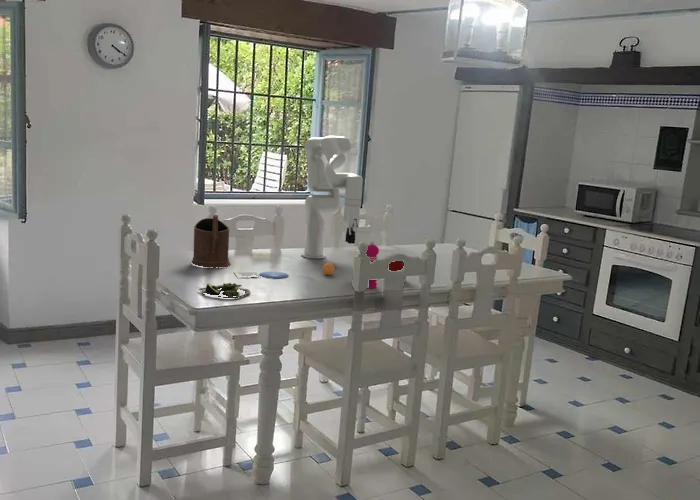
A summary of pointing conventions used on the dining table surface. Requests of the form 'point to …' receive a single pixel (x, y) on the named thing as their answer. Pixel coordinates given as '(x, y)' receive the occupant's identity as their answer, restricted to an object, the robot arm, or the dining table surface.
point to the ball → (328, 268)
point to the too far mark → (249, 274)
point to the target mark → (274, 275)
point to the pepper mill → (372, 255)
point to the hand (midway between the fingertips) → (350, 242)
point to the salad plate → (228, 290)
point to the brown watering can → (211, 243)
